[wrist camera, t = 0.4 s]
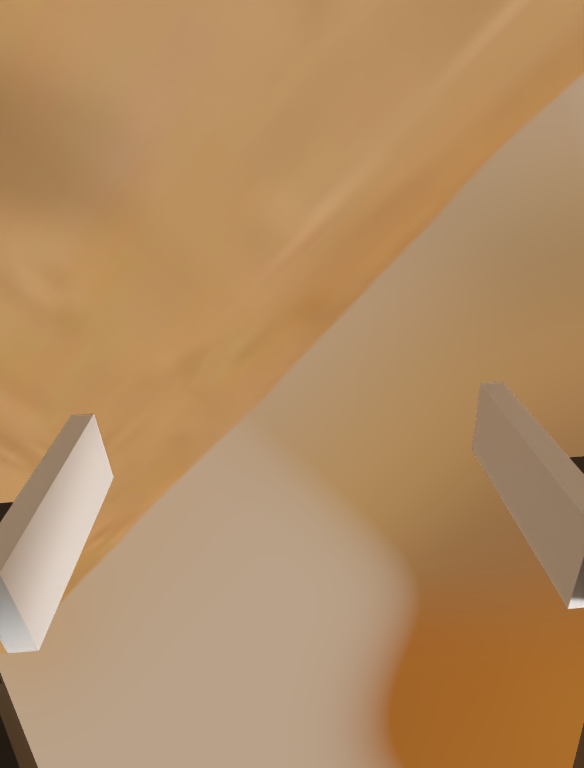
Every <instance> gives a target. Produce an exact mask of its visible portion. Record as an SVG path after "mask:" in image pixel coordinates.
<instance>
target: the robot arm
mask: <svg viewBox="0 0 584 768" xmlns="http://www.w3.org/2000/svg"><path fill="white" fill-rule="evenodd" d="M472 451H473V453H474V454H475V456H476V457H477V459H478V461H479V462H480V464H481V466H482V467H483V469H484V471H485V472H486V474H487V476H488V477H489V479H490V481H491V482H492V484H493V485H494V487H495V489H496V491H497V492H498V494H499V496H500V497H501V499H502V501H503V502H504V504H505V506H506V507H507V509H508V511H509V512H510V514H511V515H512V517H513V519H514V520H515V522H516V524H517V525H518V527H519V529H520V530H521V532H522V534H523V535H524V537H525V539H526V540H527V542H528V543H529V545H530V547H531V548H532V550H533V552H534V553H535V555H536V557H537V559H538V560H539V562H540V564H541V565H542V567H543V568H544V570H545V572H546V573H547V575H548V577H549V578H550V580H551V582H552V583H553V585H554V587H555V588H556V590H557V592H558V593H559V595H560V597H561V598H562V600H563V602H564V603H565V605H566V607H567V608H568V609H571V608H584V456H583V457H570V458H569V457H568V456H567V455H566V453H565V452H564V451H563V450H562V449H561V448H560V446H559V445H558V444H557V443H556V442H555V441H554V440H553V439H552V437H551V436H550V435H549V434H548V433H547V432H546V430H545V429H544V428H543V427H542V426H541V425H540V424H539V422H537V420H536V419H535V418H534V417H533V416H532V415H531V413H530V412H529V411H528V410H527V409H526V408H525V406H524V405H523V404H522V403H521V402H520V401H519V400H518V399H517V397H516V396H515V395H514V394H513V393H512V392H511V390H510V389H509V388H508V387H507V386H506V385H505V384H504V382H493V383H481V384H480V390H479V398H478V406H477V414H476V421H475V428H474V436H473V444H472ZM112 480H113V474H112V471H111V468H110V465H109V461H108V458H107V455H106V452H105V448H104V445H103V442H102V438H101V435H100V432H99V429H98V425H97V422H96V419H95V416H94V414H83V415H71V417H70V418H69V420H68V421H67V423H66V424H65V426H64V427H63V429H62V430H61V432H60V433H59V435H58V436H57V438H56V439H55V441H54V442H53V444H52V445H51V447H50V448H49V450H48V451H47V453H46V454H45V456H44V457H43V459H42V460H41V462H40V463H39V465H38V466H37V468H36V469H35V471H34V472H33V474H32V475H31V477H30V478H29V480H28V481H27V483H26V484H25V486H24V487H23V489H22V490H21V492H20V493H19V495H18V496H17V498H16V500H15V501H14V502H10V503H0V640H1V642H2V644H3V645H4V647H5V649H6V651H7V653H13V652H26V651H38V650H39V649H40V646H41V644H42V642H43V639H44V637H45V634H46V632H47V630H48V628H49V625H50V623H51V621H52V618H53V616H54V614H55V612H56V609H57V607H58V605H59V602H60V600H61V598H62V595H63V593H64V591H65V588H66V586H67V584H68V581H69V579H70V577H71V575H72V572H73V570H74V568H75V565H76V563H77V561H78V558H79V556H80V554H81V551H82V549H83V547H84V545H85V542H86V540H87V538H88V535H89V533H90V531H91V528H92V526H93V524H94V521H95V519H96V517H97V514H98V512H99V510H100V508H101V505H102V503H103V501H104V498H105V496H106V494H107V491H108V489H109V487H110V484H111V482H112ZM0 768H38V767H37V764H36V762H35V759H34V757H33V754H32V752H31V749H30V747H29V744H28V741H27V739H26V737H25V734H24V731H23V729H22V726H21V724H20V721H19V719H18V716H17V714H16V711H15V709H14V706H13V704H12V701H11V699H10V696H9V693H8V691H7V688H6V686H5V683H4V681H3V679H2V676H1V673H0ZM573 768H584V725H583V728H582V733H581V736H580V741H579V744H578V749H577V752H576V757H575V760H574V764H573Z"/></svg>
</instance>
